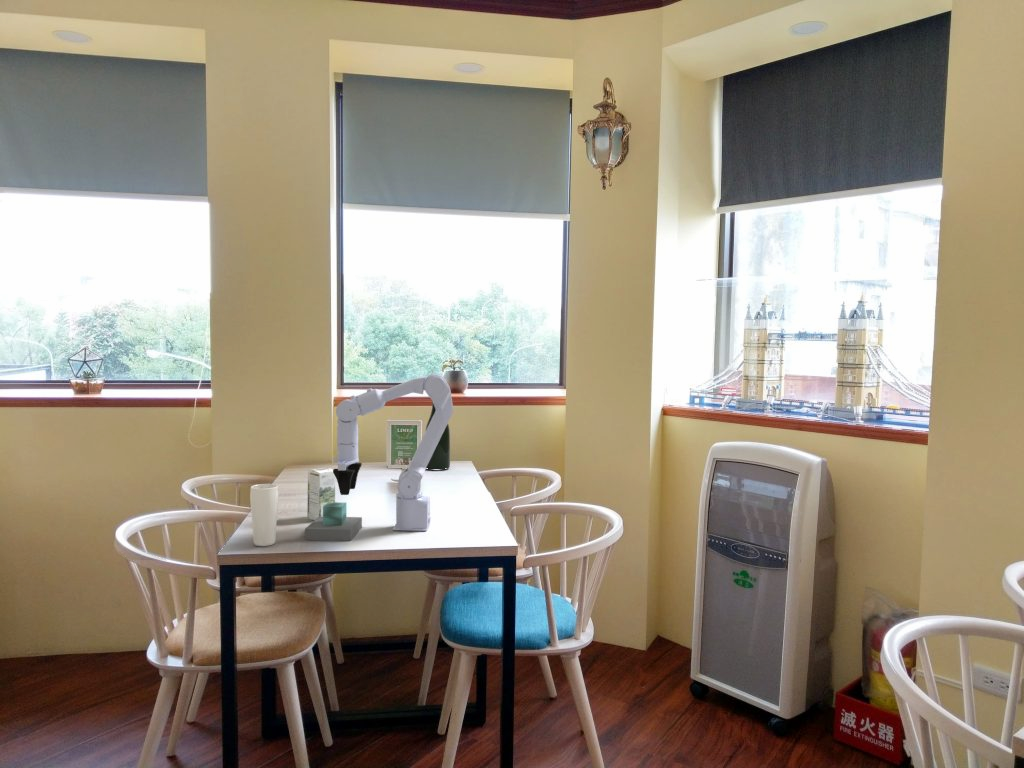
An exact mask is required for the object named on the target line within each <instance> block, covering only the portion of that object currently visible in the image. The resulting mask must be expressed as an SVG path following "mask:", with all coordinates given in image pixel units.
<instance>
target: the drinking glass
mask: <svg viewBox="0 0 1024 768" xmlns="http://www.w3.org/2000/svg"><path fill="white" fill-rule="evenodd" d="M249 495H250V497H249V500H250V501H249V502H250V514H251V525H252V534H253V545H255V546H256V547H269V546H273V545H275V543H276V541H277V540H276V539H277V536H276V534H277V522H278V521H277V520H278V511H279V485H278V484H275V483H260V484H258V483H257V484H254V485H251V486H250V492H249Z"/></svg>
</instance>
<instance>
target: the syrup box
mask: <svg viewBox="0 0 1024 768" xmlns="http://www.w3.org/2000/svg"><path fill="white" fill-rule="evenodd" d="M328 502H336V477H335V475H334V473H333V469H332V468H330V467H329V468H328V467H321V468H314V469H309V470H307V519H309V520H312V521H314V520H316V519H317V518H318V517H319V516H323V506H324V505H326V504H327V503H328Z"/></svg>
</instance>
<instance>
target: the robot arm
mask: <svg viewBox="0 0 1024 768" xmlns="http://www.w3.org/2000/svg"><path fill="white" fill-rule="evenodd" d="M424 391H425V393H426V394H427V396H428V397H429V398H430V399H431V400H432V403H433V404H434V406H435V409H436V411H435V413H434V415H433V417H432V419H431V421H430V424H429V426H428V428H427V430H426V429H425V431H426V432H425V431H424V434H423V436H422V438H421V440H420V443H419V444H418V446H417V448H416V450H415V452H414V455H413V457H412V459H411V461H410V462H409V464H408V466H407V467H406V469H405V470H404V471H402V472H401V473H400V475H399V477H398V482H397V485H396V486H397V493H396V496H395V497H396V499H395V500H396V501H395V502H396V504H395V505H396V510H395V511H396V512H395V513H396V514H395V524H394V526H393V528H392V530H393V531H409V532H410V531H411V532H412V531H413V532H414V531H417V532H419V531H420V532H422V531H423V532H427V530H428V529H429V527H430V525H431V498H430V496H425V495H423V492H421V487H422V486H421V485H422V484H421V483H422V479H423V477H424V474H425V472H426V470H427V469H426V467H427V465H428V463H429V461H430V459H431V457H432V455H433V453H434V450H435V448H436V446H437V444H438V442H439V440H440V438H441V436H442V434H443V432H444V430H445V428H446V426H447V424H448V425H449V421H450V419H451V417H452V415H453V413H454V404H453V399H452V392H451V388H450V385H449V382H448V381H447V380H446V378H445V376H443V375H442V374H440V373H436V372H435V373H431V374H429V375H428V376H427V375H423V376H418V377H414V378H412V379H409V380H407V381H404V382H402V383H400V384H397V385H394V386H392V387H389V388H386V389H385V390H383V391H382V390H380V389H377V388H374V389H372V387H371V388H368V389H366V392H363V393H361V394H358V395H356V396H355V395H354V394H353V395H350V398H349V399H343V400H341V402H340V403H338V405H337V406H336V408H335V414H336V417H337V423H336V424H337V426H336V456H337V457H334V458H333V459H332V462H334V463H337V468H333V469H332V470H333V473H334V475H335V480H336V482H337V485H338V490H339V493H340V496H349V494H350V491H351V490H355V489H356V485H357V480H358V475H359V471H360V469H361V468H362V463H363V462H360V459H359V426H358V416H362V417H363V416H366V415H368V414H371V413H374V412H375V411H379V410H382V409H384V407H385V405H386V403H387V402H389V401H392V400H395V399H398V398H401V397H403V396H407V395H410V394H419V395H424Z"/></svg>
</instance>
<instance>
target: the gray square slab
mask: <svg viewBox="0 0 1024 768" xmlns="http://www.w3.org/2000/svg"><path fill="white" fill-rule="evenodd" d="M362 528H363V517H362V516H361V517H359V516H346V522H345V523H344V524H343V525H323V516H319V517H318V518H317V519H316V520H312V521H311V523H310V524H309V525H308V526H306V527H305V528H304V540H305V541H330V542H331V541H333V542H336V541H340V542H343V541H344V542H351V541H352V540H353V539H354V537H355V536H356V535H357V534H358V533H359V532H360V531H361V530H362Z"/></svg>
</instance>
